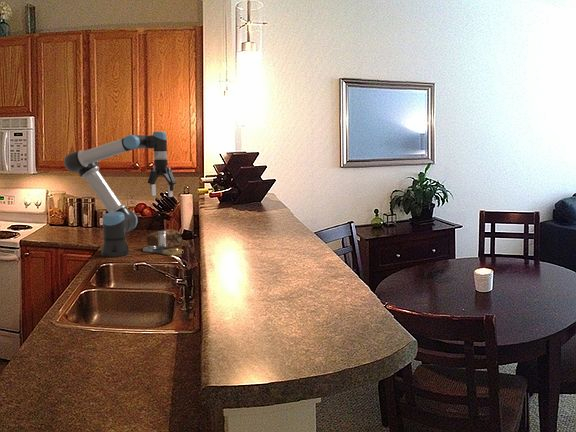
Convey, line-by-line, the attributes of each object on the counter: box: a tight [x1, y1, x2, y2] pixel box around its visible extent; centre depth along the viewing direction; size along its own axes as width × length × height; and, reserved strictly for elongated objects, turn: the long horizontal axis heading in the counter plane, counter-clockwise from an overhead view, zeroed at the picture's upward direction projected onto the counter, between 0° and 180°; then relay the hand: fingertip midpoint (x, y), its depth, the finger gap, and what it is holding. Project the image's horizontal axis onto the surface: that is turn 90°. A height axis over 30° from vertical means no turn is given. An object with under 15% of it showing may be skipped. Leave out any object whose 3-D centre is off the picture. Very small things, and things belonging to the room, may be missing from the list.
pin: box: [157, 230, 166, 250], centre depth 311 cm, size 5×5×12 cm
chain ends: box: [142, 245, 184, 256], centre depth 311 cm, size 24×8×3 cm, turn 57°
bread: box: [146, 228, 182, 248], centre depth 328 cm, size 19×11×10 cm, turn 142°
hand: (162, 196), depth 312 cm, fingers open, 13 cm apart
